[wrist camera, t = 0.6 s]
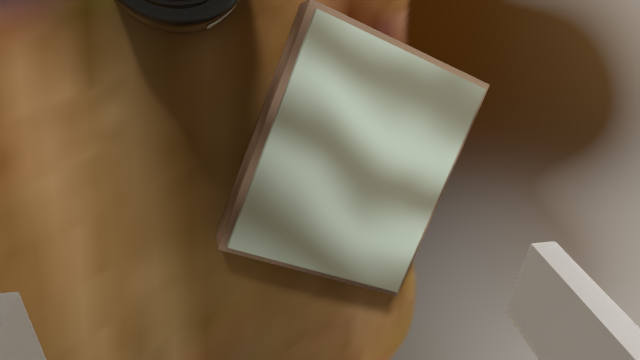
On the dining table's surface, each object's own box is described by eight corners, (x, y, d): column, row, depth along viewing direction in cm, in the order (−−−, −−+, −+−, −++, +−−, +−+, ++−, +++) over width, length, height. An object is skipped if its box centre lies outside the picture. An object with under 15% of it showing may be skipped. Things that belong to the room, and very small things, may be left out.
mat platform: (300, 3, 32) (312, -3, 29) (466, 83, 37) (493, 85, 34) (215, 234, 35) (218, 252, 31) (382, 279, 40) (399, 299, 36)
